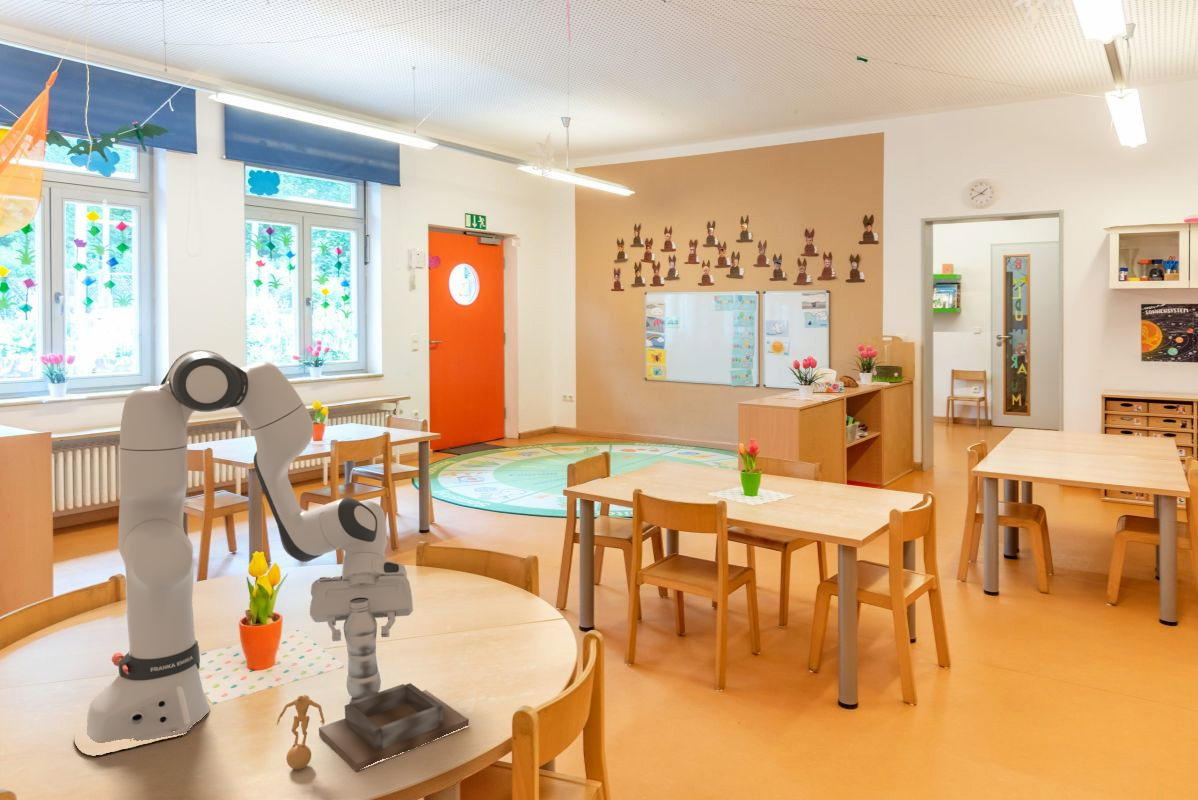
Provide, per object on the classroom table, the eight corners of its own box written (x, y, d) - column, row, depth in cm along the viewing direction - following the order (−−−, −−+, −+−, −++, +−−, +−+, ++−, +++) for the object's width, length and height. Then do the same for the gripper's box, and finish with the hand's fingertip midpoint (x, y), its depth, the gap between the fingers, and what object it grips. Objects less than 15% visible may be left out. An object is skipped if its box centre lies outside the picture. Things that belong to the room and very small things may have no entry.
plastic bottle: (372, 704, 163) (367, 607, 161) (340, 701, 165) (335, 604, 162) (387, 689, 170) (382, 595, 167) (356, 687, 171) (351, 593, 169)
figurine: (270, 773, 140) (266, 706, 138) (286, 754, 146) (282, 689, 144) (318, 774, 139) (314, 707, 138) (332, 755, 145) (328, 690, 144)
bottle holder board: (356, 771, 140) (355, 744, 139) (319, 735, 152) (317, 709, 151) (468, 727, 154) (467, 701, 154) (426, 696, 166) (425, 673, 166)
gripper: (309, 571, 169) (303, 635, 161) (412, 564, 173) (411, 627, 164) (314, 584, 174) (308, 648, 166) (413, 578, 178) (413, 640, 169)
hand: (360, 638), depth 165 cm, fingers open, 8 cm apart
